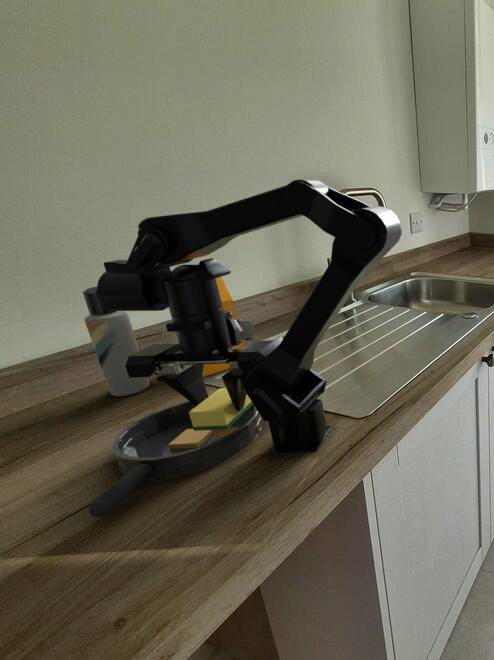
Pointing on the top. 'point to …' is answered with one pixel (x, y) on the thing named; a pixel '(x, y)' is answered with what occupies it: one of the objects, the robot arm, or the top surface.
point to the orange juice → (229, 306)
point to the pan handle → (120, 491)
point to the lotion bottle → (113, 344)
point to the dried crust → (190, 439)
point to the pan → (167, 424)
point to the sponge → (217, 412)
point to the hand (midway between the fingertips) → (224, 410)
